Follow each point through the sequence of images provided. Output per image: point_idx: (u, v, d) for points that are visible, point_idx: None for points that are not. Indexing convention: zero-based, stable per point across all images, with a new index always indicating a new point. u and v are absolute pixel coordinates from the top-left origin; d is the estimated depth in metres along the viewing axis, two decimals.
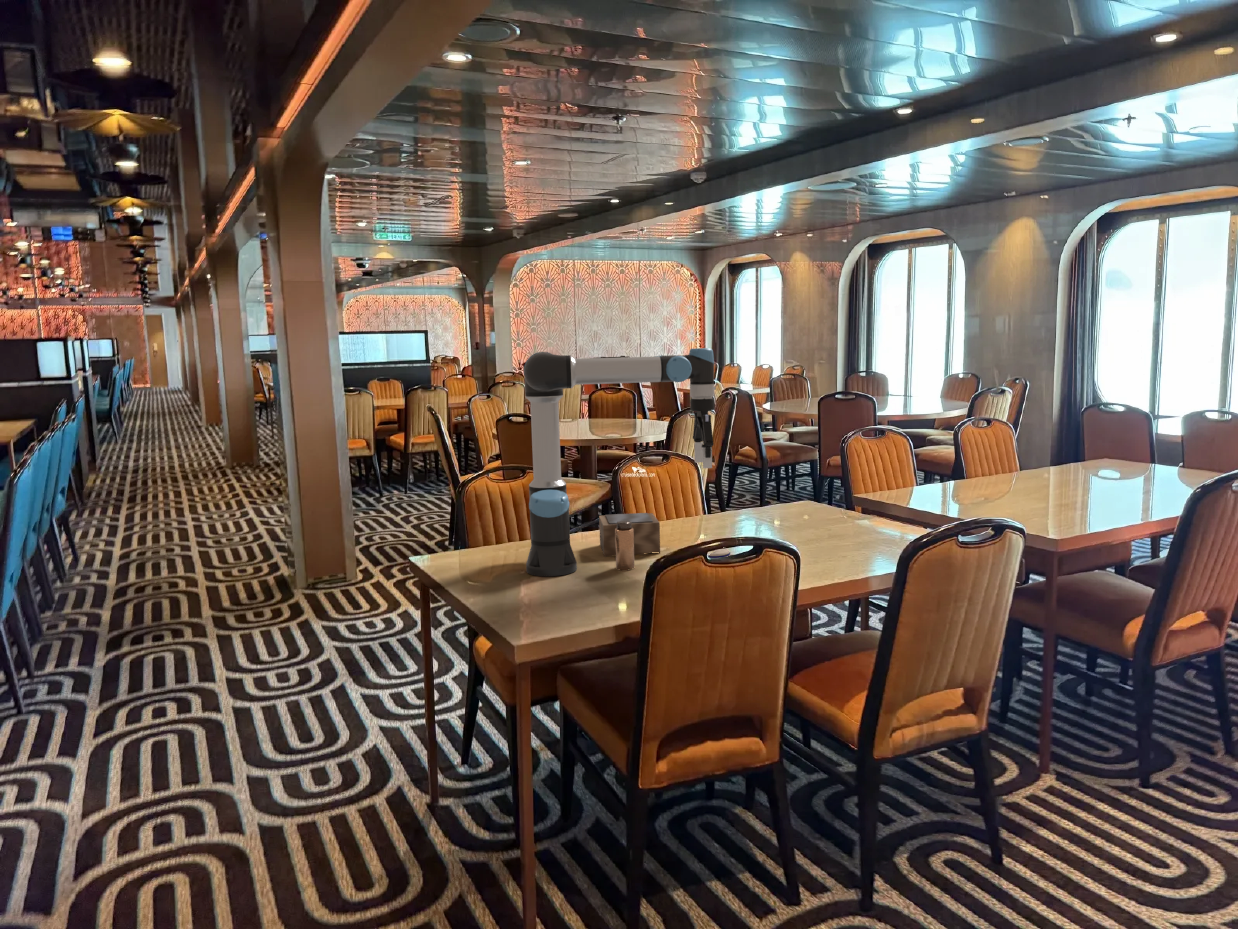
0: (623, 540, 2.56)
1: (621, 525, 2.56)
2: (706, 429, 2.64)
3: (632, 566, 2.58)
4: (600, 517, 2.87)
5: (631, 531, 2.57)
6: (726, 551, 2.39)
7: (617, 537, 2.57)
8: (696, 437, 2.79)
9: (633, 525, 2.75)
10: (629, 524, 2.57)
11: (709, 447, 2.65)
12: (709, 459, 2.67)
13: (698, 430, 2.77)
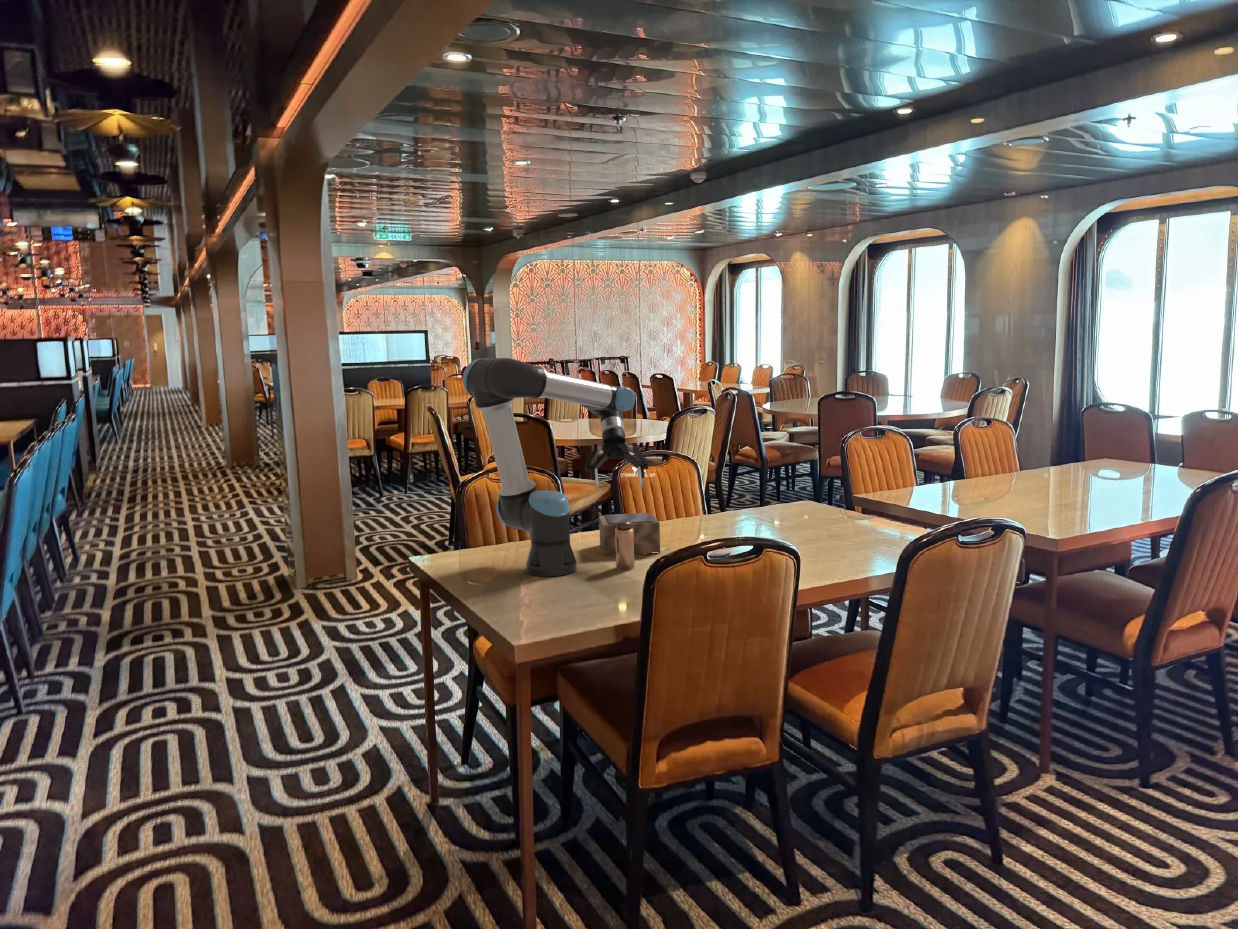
0: (623, 540, 2.56)
1: (621, 525, 2.56)
2: None
3: (632, 566, 2.58)
4: (600, 517, 2.87)
5: (631, 531, 2.57)
6: (726, 551, 2.39)
7: (617, 537, 2.57)
8: (597, 465, 2.73)
9: (633, 525, 2.75)
10: (629, 524, 2.57)
11: None
12: None
13: (603, 459, 2.75)
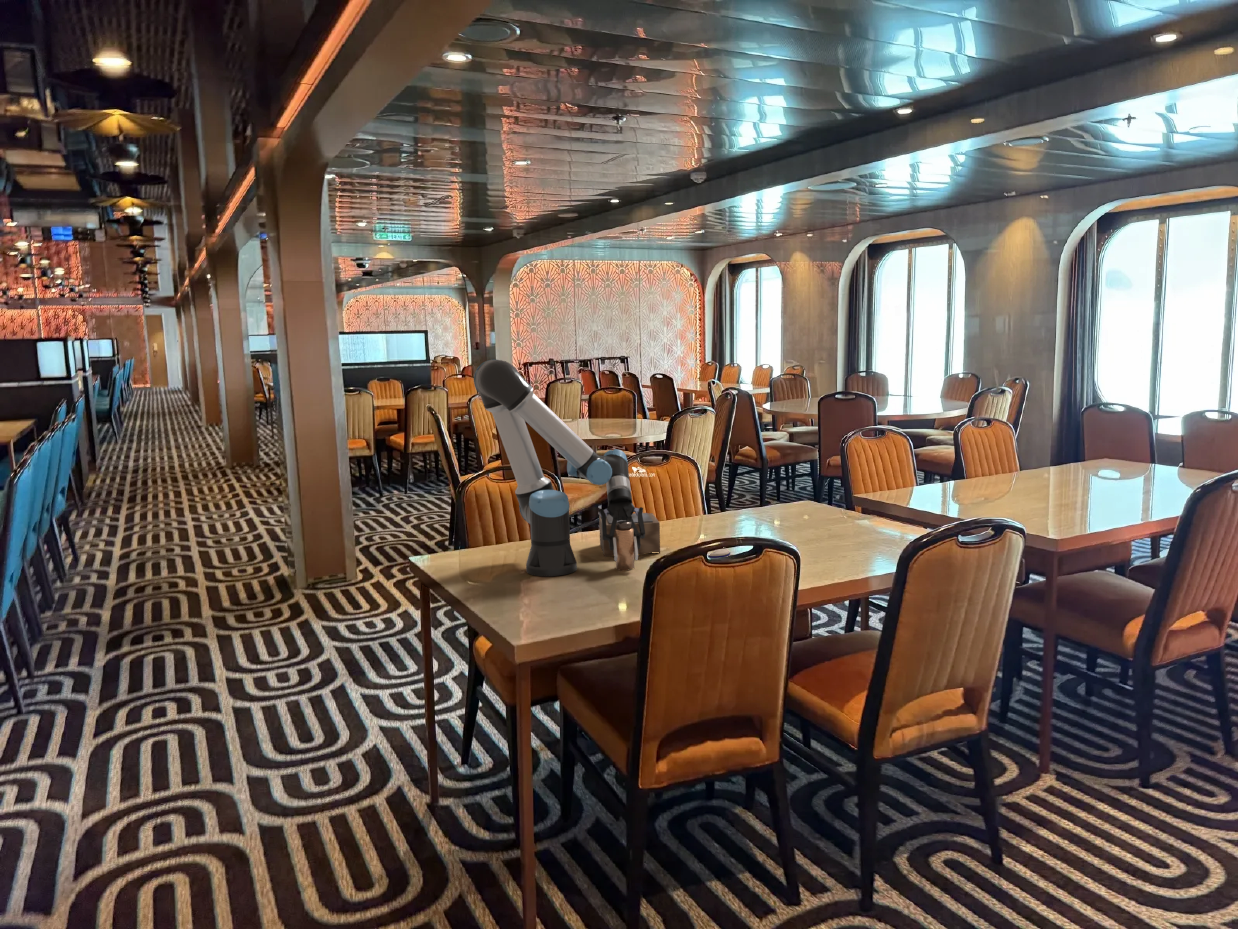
0: (623, 540, 2.56)
1: (621, 525, 2.56)
2: (642, 521, 2.64)
3: (632, 566, 2.58)
4: None
5: (631, 531, 2.57)
6: (726, 551, 2.39)
7: (617, 537, 2.57)
8: None
9: None
10: (629, 524, 2.57)
11: None
12: None
13: (615, 523, 2.62)
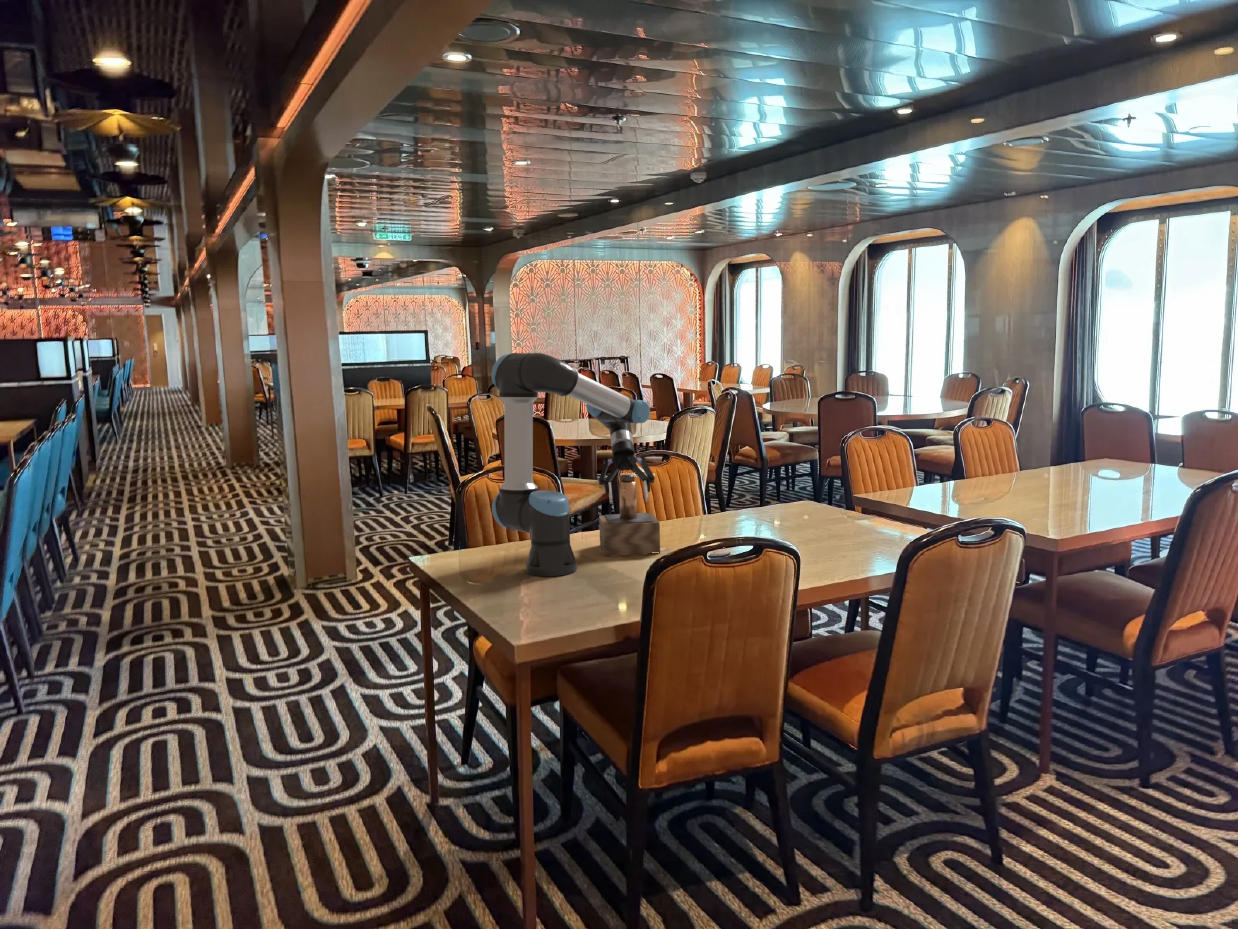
0: (626, 491, 2.79)
1: (625, 477, 2.79)
2: None
3: (635, 515, 2.81)
4: (600, 517, 2.87)
5: (634, 483, 2.79)
6: (726, 551, 2.39)
7: (621, 489, 2.80)
8: (610, 478, 2.83)
9: (633, 525, 2.75)
10: (632, 477, 2.79)
11: (649, 483, 2.84)
12: None
13: (615, 472, 2.85)
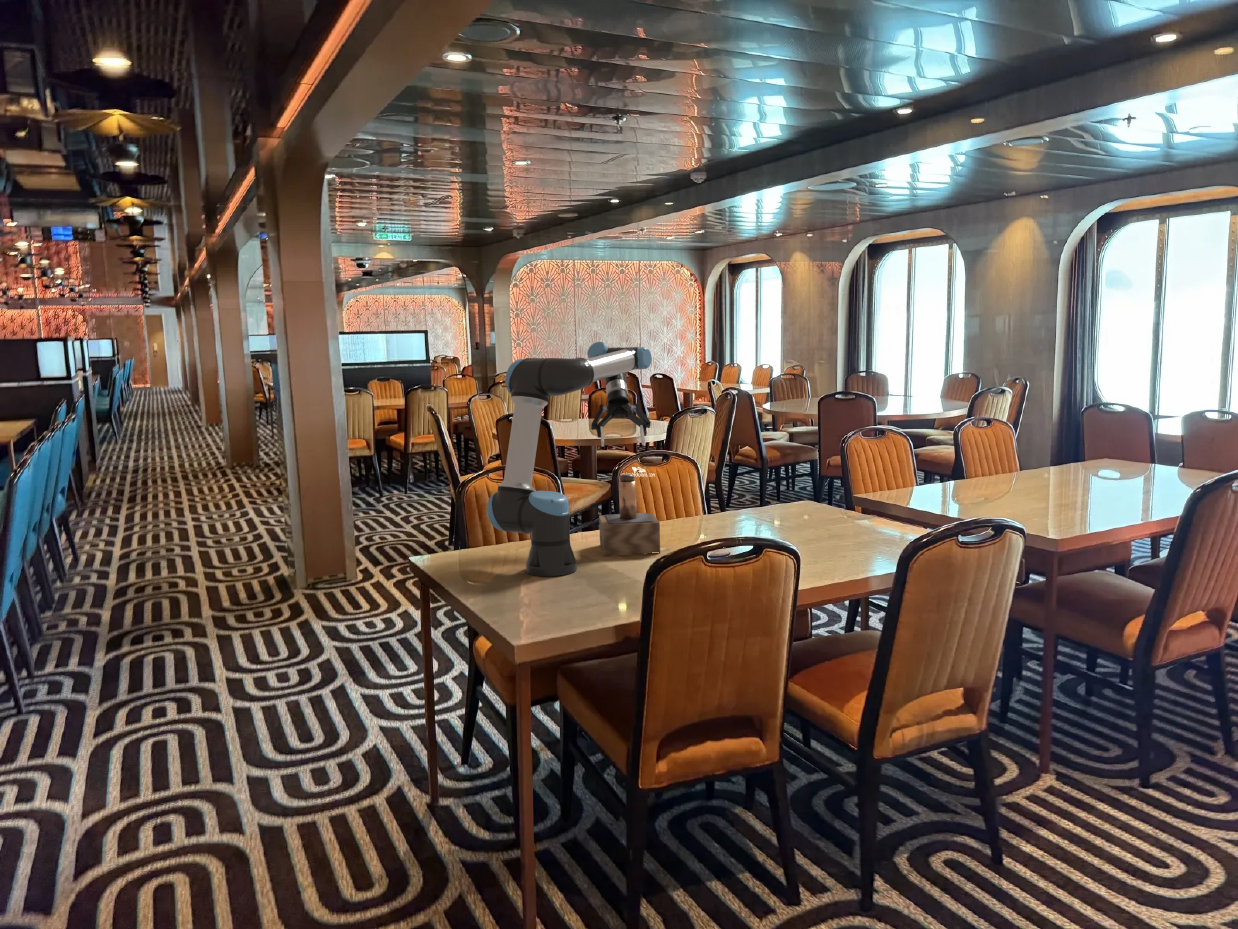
0: (626, 491, 2.79)
1: (624, 477, 2.79)
2: None
3: (635, 515, 2.81)
4: (600, 517, 2.87)
5: (634, 483, 2.80)
6: (726, 551, 2.39)
7: (621, 488, 2.80)
8: (603, 423, 2.94)
9: (633, 525, 2.75)
10: (632, 476, 2.80)
11: (646, 427, 2.95)
12: None
13: (608, 418, 2.96)
